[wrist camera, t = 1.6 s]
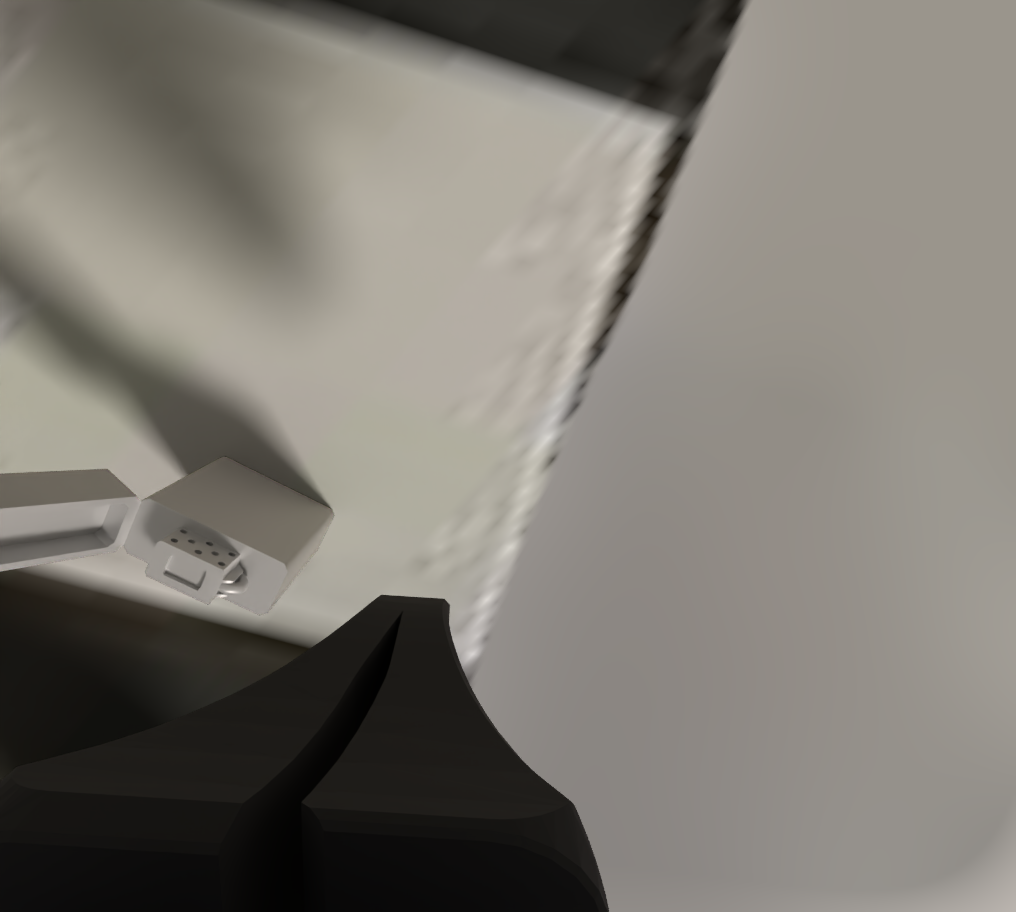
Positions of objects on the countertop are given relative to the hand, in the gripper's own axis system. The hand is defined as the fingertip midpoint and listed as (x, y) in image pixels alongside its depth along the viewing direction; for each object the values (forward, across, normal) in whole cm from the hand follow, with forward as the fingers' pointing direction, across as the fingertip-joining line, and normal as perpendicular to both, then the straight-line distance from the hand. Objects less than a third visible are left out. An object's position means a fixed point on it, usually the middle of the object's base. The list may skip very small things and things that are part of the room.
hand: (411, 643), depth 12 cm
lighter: (+9, +8, 0) cm, 12 cm away
